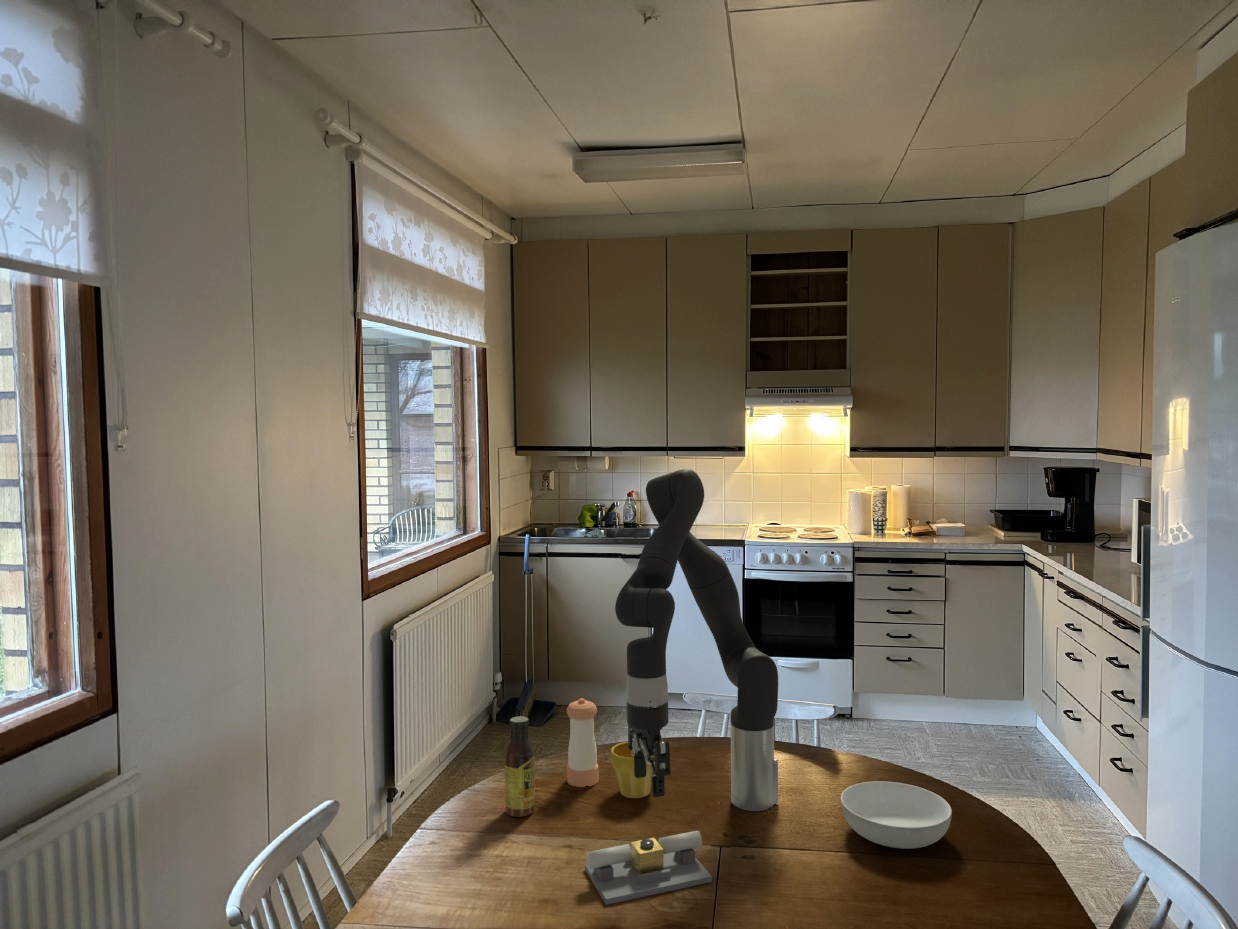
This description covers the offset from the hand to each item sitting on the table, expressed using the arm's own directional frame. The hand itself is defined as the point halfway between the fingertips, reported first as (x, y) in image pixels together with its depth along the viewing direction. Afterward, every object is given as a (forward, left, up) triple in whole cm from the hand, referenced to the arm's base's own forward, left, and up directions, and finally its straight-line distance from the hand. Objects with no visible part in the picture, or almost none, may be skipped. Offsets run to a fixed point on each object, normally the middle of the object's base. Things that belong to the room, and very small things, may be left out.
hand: (649, 786), depth 148 cm
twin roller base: (+1, 0, -16) cm, 16 cm away
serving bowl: (-50, +4, -17) cm, 53 cm away
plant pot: (-9, -33, -17) cm, 38 cm away
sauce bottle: (+17, -33, -17) cm, 40 cm away
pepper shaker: (0, -43, -17) cm, 46 cm away
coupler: (+1, 0, -15) cm, 15 cm away
